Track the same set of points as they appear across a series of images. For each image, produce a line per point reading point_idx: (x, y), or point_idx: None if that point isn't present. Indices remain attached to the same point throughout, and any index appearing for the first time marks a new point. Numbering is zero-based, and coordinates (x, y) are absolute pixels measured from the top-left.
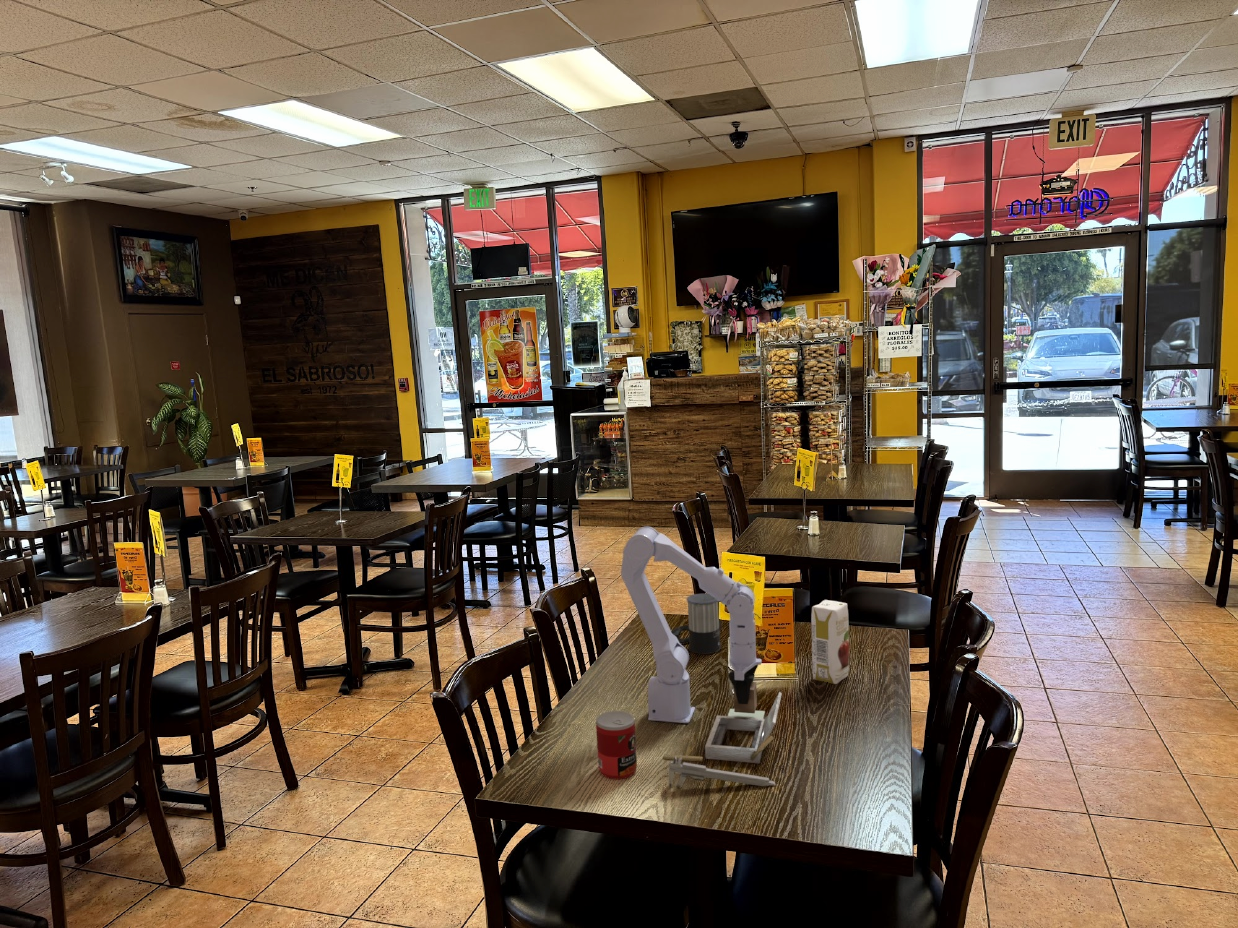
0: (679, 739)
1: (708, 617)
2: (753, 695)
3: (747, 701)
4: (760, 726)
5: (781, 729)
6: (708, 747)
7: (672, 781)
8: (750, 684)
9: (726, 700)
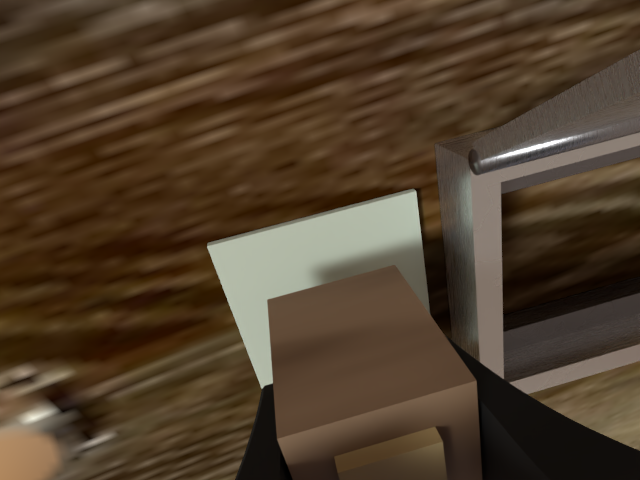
0: (587, 419)
1: None
2: (448, 346)
3: (458, 346)
4: (582, 159)
5: (399, 63)
6: None
7: None
8: (634, 449)
9: (169, 449)
